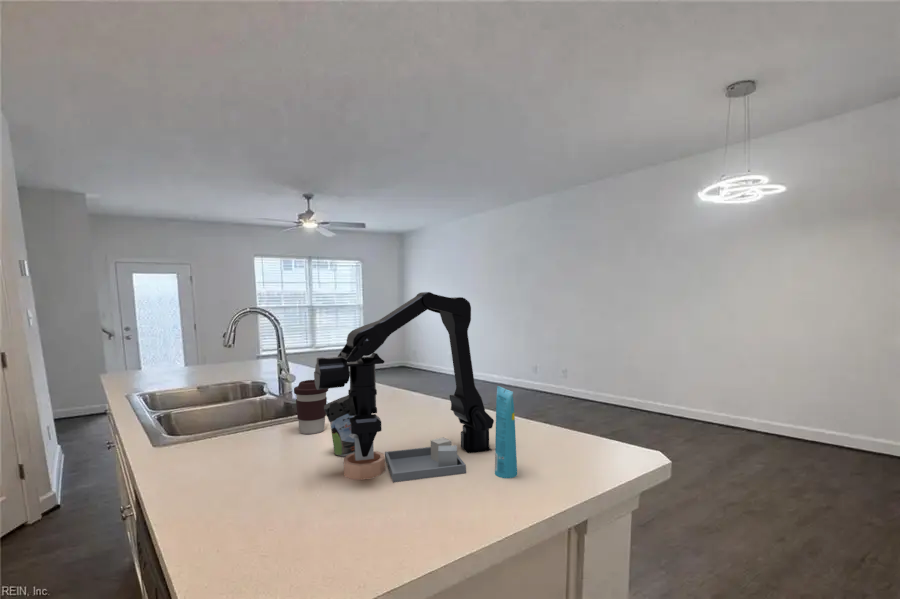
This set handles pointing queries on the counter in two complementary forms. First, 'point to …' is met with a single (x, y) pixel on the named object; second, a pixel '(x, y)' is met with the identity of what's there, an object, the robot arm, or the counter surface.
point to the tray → (418, 465)
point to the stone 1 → (358, 450)
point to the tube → (505, 435)
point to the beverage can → (342, 436)
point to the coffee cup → (310, 407)
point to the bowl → (364, 466)
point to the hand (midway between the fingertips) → (364, 453)
